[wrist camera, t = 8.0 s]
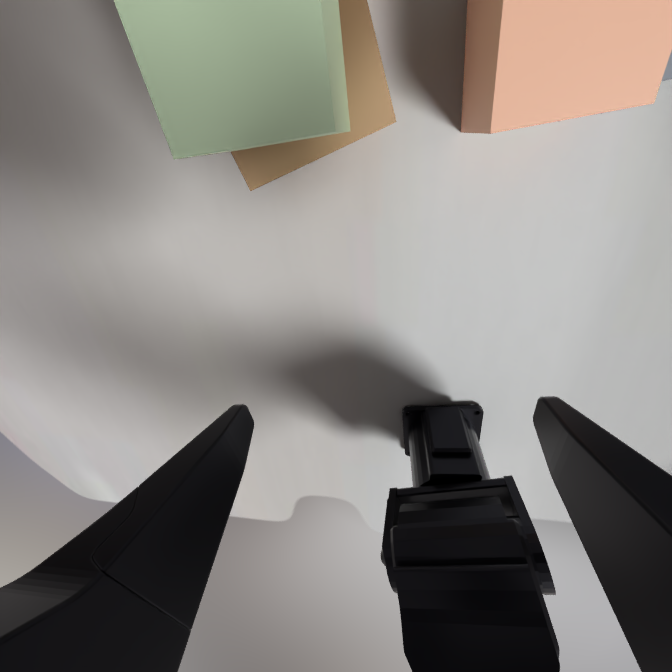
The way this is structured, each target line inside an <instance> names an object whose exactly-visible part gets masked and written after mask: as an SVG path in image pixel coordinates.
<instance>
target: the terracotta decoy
mask: <svg viewBox="0 0 672 672" xmlns="http://www.w3.org/2000/svg"><path fill="white" fill-rule="evenodd" d="M671 50H672V0H468V1H467V21H466V40H465V60H464V79H463V98H462V118H461V132H464V133H488V134H491V133H496V132H502V131H507V130H513V129H518V128H523V127H529V126H534V125H540V124H545V123H550V122H556V121H561V120H567V119H572V118H577V117H583V116H588V115H593V114H599V113H604V112H610V111H615V110H620V109H626V108H631V107H637V106H642V105H647V104H653V103H654V102H655V99H656V96H657V93H658V90H659V87H660V84H661V80H662V77H663V74H664V71H665V68H666V65H667V62H668V59H669V56H670V53H671Z"/></svg>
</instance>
